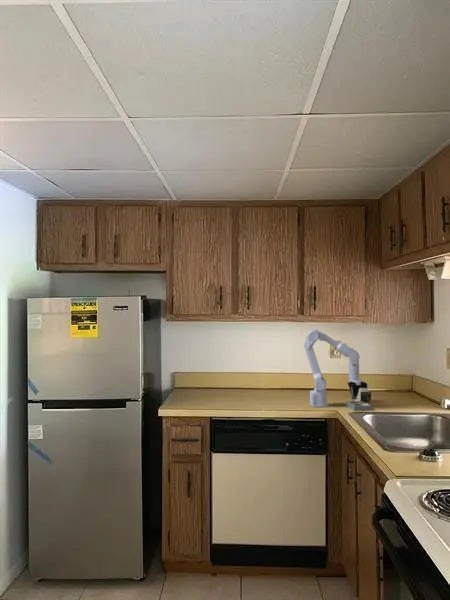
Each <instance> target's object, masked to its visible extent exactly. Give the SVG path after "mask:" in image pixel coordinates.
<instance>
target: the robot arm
mask: <svg viewBox="0 0 450 600" xmlns="http://www.w3.org/2000/svg"><path fill="white" fill-rule="evenodd" d="M318 340H319V342H325V343H327V344H329V345H330V346H332V347H334V348H335V349H336V352H338V353H340V355H343V356H344V357H346V358H348V359H349V361H348V362H349V363H348V379H347V381H348V382H347V386H348V387H349V392H350V393H351V387H352V391H353V396H358V391H359V388H360V386H361V384H360V382H361V381H362V379H360V358H361V357H360V354H359V352H358V351H357V350H355V348H351V347H349V345H347V343H346V342H340V343H339V342H338V341H336V340H335V339H333V338H332V337H330V336H329V335H328V334H326V333H324V332H322V331H320V330H318V329H315V328H314V329H311V330H310V331H309V332H308V333H307V335H306V338H305V340H304V345H303V348H304V350H305V351H304V352H305V354H306V357H307V360H308V362H309V365H310V369H311V372H312V376H313V379H314V388H313V390H309V405H310V406H312V407H313V408H319V407H322V408H323V407H324V408H325V407H330V405H329V404H328V403H327V402H328V399H327V397H328V394H327V393H328V392H327V391H328V390H327V388H326V387H327V386H326V385H327V381H326V379H325V378H324V377H323V374H322V372H321V369H320V366H319V363H318V360H317V356H316V353H315V350H314V348H313V346H314V345H315V343H316V342H317V341H318Z"/></svg>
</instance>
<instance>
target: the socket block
mask: <svg viewBox="0 0 450 600" xmlns="http://www.w3.org/2000/svg"><path fill="white" fill-rule="evenodd" d="M345 405H346V407H347V408H350V410H352V411H353V412H358V411H359V412H360V411H365V412H366V411H372V410H373V406H372V405H371V404H370V403H366V402H364V401H355V400H351V401H350V400H349V401H347V400H346V401H345Z"/></svg>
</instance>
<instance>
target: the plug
mask: <svg viewBox="0 0 450 600" xmlns="http://www.w3.org/2000/svg"><path fill="white" fill-rule="evenodd" d="M350 395H351V400H352V401H355V400H356V399H357V396H353V391H352V387H351V392H350Z"/></svg>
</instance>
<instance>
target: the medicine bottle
mask: <svg viewBox="0 0 450 600" xmlns="http://www.w3.org/2000/svg"><path fill="white" fill-rule="evenodd" d="M360 384H361V386H360V388H359V391H358V396H357V399H356V400H354V401H364V402H366V403H368V404H370V403H371V404H372V390H370V389H369V383H368V382H367V381H362V380H361V381H360Z"/></svg>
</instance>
